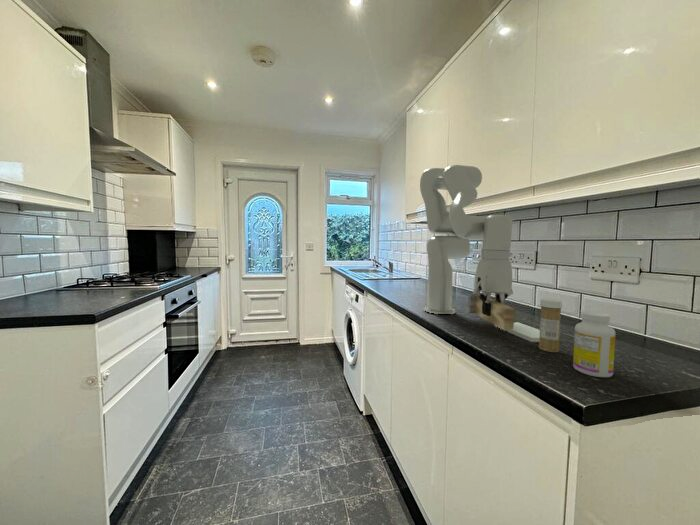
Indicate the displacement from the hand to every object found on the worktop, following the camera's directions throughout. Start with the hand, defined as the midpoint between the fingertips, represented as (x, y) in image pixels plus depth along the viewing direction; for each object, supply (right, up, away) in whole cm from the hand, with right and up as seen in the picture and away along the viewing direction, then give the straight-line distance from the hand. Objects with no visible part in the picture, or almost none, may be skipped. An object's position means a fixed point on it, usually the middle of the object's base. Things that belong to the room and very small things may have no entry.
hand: (491, 314), depth 88 cm
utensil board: (+11, -6, +1) cm, 13 cm away
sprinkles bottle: (+8, -7, -13) cm, 17 cm away
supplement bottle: (+8, -8, -26) cm, 29 cm away
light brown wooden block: (0, -2, +1) cm, 2 cm away
